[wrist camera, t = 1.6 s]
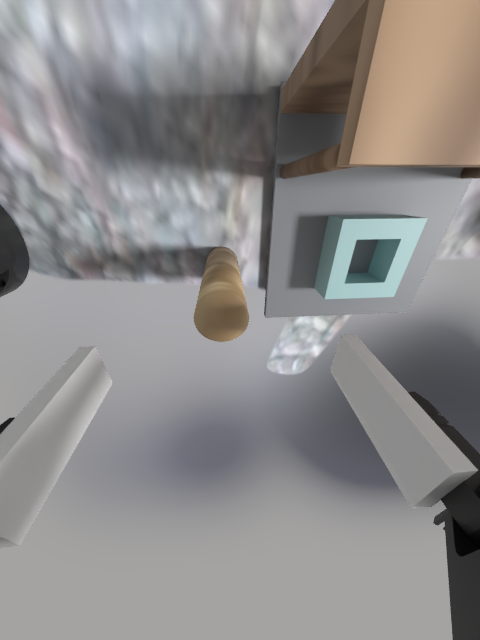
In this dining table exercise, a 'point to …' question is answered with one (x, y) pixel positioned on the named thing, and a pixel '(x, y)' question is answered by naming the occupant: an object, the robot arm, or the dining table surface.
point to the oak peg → (221, 298)
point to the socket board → (342, 199)
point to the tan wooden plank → (393, 85)
